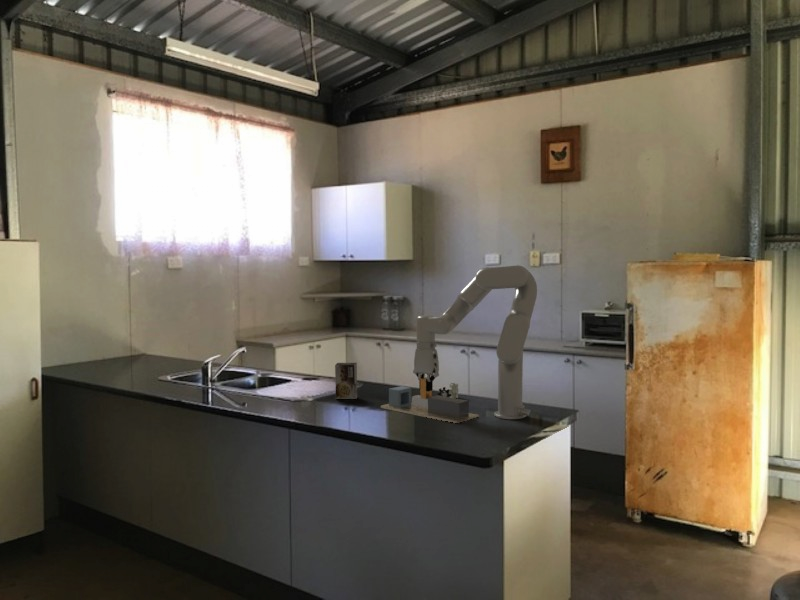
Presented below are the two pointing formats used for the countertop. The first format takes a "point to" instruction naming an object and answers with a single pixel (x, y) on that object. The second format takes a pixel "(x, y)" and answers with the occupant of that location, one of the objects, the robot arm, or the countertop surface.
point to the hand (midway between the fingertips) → (425, 389)
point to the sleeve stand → (439, 409)
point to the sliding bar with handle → (422, 395)
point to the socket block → (399, 396)
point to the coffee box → (346, 380)
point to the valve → (450, 391)
